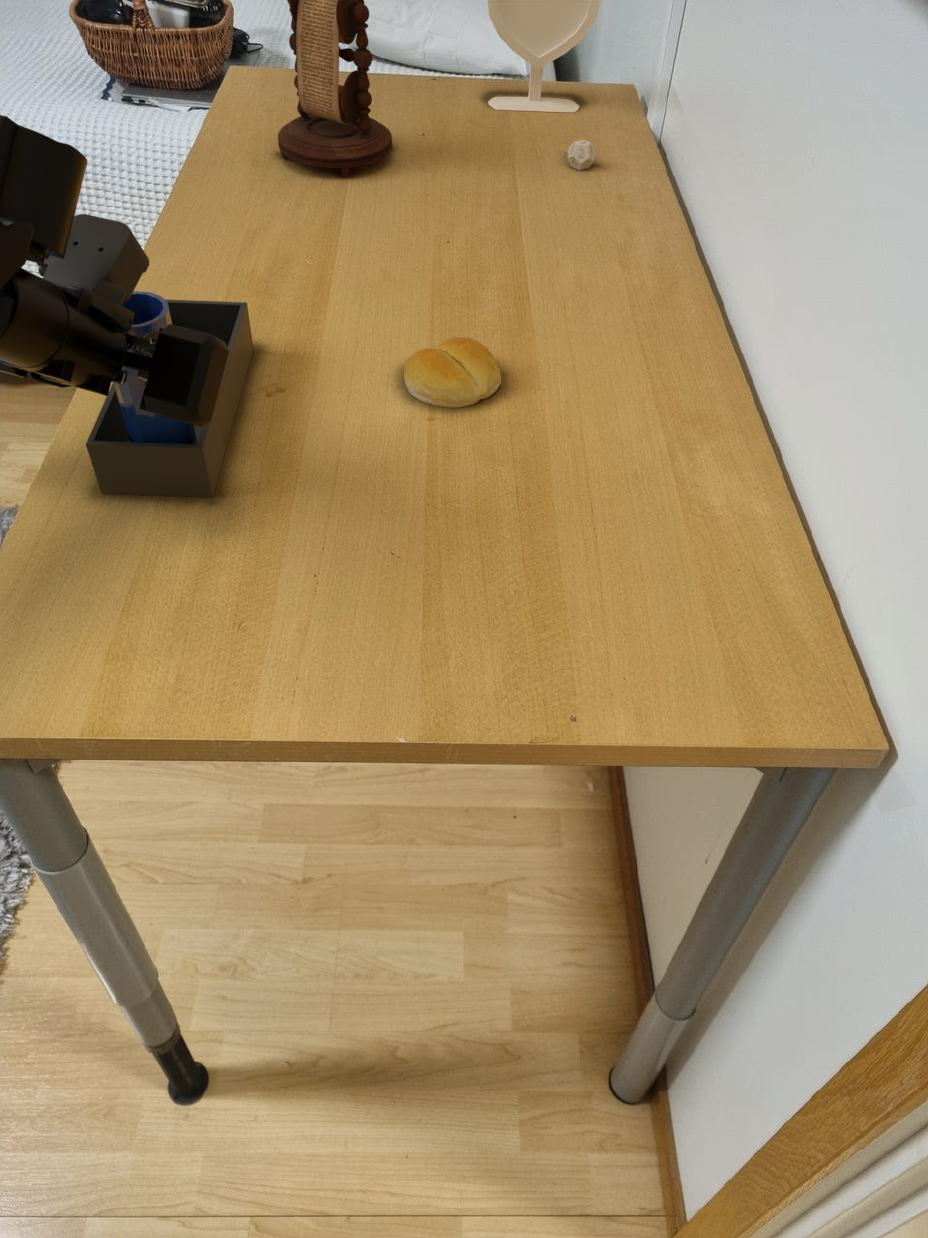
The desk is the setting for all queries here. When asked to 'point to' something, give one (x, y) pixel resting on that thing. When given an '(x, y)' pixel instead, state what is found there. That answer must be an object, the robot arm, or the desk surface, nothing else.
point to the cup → (139, 422)
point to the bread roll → (452, 373)
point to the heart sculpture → (540, 42)
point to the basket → (193, 464)
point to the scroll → (332, 89)
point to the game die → (581, 154)
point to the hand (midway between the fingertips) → (161, 380)
